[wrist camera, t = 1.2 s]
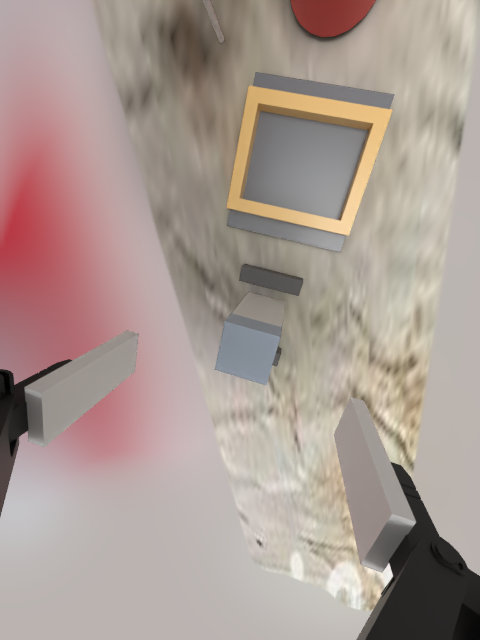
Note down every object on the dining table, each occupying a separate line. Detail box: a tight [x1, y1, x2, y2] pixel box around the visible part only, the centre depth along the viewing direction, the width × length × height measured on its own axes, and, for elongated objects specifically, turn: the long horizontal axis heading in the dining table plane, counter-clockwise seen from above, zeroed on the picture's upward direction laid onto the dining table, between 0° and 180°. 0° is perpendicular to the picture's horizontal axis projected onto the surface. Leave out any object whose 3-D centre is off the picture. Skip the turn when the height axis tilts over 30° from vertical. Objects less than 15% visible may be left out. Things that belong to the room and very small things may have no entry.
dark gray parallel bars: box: [239, 264, 303, 366], centre depth 27 cm, size 10×6×2 cm, turn 168°
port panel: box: [226, 72, 394, 252], centre depth 22 cm, size 12×11×2 cm
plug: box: [215, 292, 285, 385], centre depth 23 cm, size 4×4×10 cm
